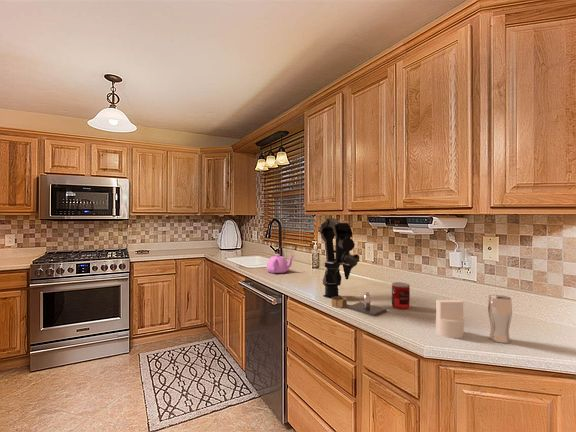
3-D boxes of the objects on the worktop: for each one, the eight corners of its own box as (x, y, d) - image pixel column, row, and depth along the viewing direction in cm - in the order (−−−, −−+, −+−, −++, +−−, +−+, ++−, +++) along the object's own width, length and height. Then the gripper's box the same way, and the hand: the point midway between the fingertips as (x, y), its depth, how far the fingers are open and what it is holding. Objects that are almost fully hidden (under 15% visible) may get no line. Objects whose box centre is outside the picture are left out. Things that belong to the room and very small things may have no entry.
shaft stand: (347, 308, 141) (347, 291, 141) (360, 304, 148) (360, 288, 148) (374, 316, 131) (374, 297, 131) (386, 311, 138) (386, 293, 138)
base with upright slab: (454, 328, 117) (454, 297, 117) (469, 338, 108) (469, 304, 108) (431, 329, 117) (431, 297, 117) (444, 338, 108) (444, 304, 108)
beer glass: (514, 345, 102) (515, 300, 102) (490, 342, 105) (490, 298, 105) (508, 337, 109) (508, 295, 109) (485, 334, 111) (485, 293, 111)
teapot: (291, 275, 219) (291, 256, 219) (262, 274, 224) (262, 255, 224) (297, 270, 241) (297, 253, 241) (271, 269, 246) (271, 252, 246)
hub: (328, 305, 147) (328, 298, 147) (337, 302, 152) (337, 295, 152) (340, 308, 142) (340, 301, 142) (349, 305, 146) (349, 298, 146)
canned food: (395, 303, 150) (395, 281, 150) (411, 306, 145) (411, 283, 145) (389, 307, 144) (389, 284, 144) (406, 310, 139) (406, 286, 139)
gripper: (343, 251, 134) (343, 287, 134) (366, 248, 147) (366, 280, 147) (324, 249, 142) (323, 282, 142) (347, 246, 155) (347, 277, 155)
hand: (341, 280), depth 146 cm, fingers open, 9 cm apart
